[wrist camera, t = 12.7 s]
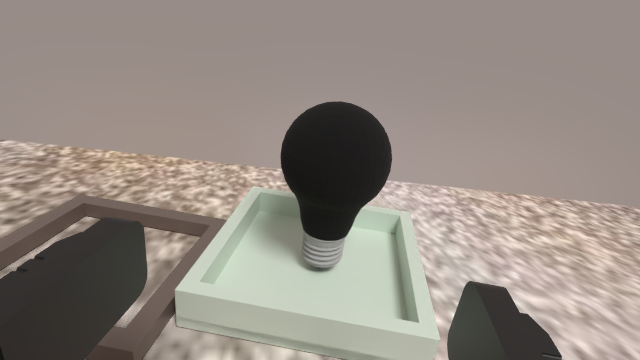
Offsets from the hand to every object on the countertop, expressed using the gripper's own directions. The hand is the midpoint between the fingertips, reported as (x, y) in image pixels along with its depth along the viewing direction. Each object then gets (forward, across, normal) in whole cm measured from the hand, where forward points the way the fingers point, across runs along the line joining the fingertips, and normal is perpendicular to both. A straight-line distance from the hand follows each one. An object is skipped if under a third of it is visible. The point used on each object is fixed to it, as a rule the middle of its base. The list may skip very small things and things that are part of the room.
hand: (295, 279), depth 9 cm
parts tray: (+11, 0, +8) cm, 14 cm away
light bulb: (+11, 0, +8) cm, 13 cm away
